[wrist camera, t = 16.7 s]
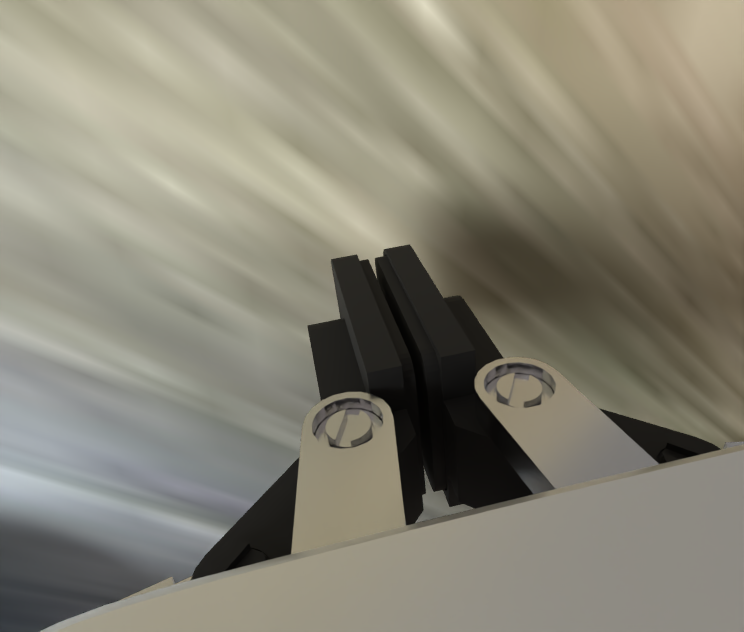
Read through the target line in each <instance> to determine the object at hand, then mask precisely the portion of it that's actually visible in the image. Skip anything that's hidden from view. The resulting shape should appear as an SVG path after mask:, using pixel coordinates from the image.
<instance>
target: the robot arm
mask: <svg viewBox="0 0 744 632" xmlns="http://www.w3.org/2000/svg"><path fill="white" fill-rule="evenodd" d="M331 264H332V271H333V276H334V282H335V288H336V294H337V300H338V306H339V312H340V318H341V319H338V320H333V321H328V322H323V323H318V324H313V325H308V331H309V337H310V342H311V348H312V353H313V359H314V364H315V370H316V375H317V381H318V386H319V392H320V397H321V401H320V402H319V403H318V404H316V405H315V406H314V407H313V408H312V409H311V410H310V411H309V413H308V414H307V415H306V417H305V419H304V422H303V426H302V434H301V445H300V457H299V458H298V459H297V460H296V461H295V462H294V463H293V464H292V465H291V466H290V467H289V468H288V470H287V471H286V472H285V473H284V474H283V475H282V476H281V477H280V478H279V479H278V480H277V481H276V482H275V483H274V484H273V485H272V486H271V487H270V488H269V489H268V490H267V491H266V492H265V494H264V495H263V496H262V497H261V498H260V499H259V500H258V501H257V502H256V503H255V504H254V505H253V506H252V507H251V508H250V509H249V510H248V511H247V512H246V513H245V514H244V515H243V517H242V518H241V519H240V520H239V521H238V522H237V523H236V524H235V525H234V526H233V527H232V528H231V529H230V530H229V531H228V532H227V533H226V534H225V535H224V536H223V537H222V538H221V539H220V541H219V542H218V543H217V544H216V545H215V546H214V547H213V548H212V549H211V550H210V551H209V552H208V553H207V554H206V555H205V557H204V558H203V559H202V561H201V562H200V563H199V565H198V566H197V567H196V569H195V571H194V573H193V576H191V577H189V578H187V579H184V580H182V581H180V582H178V583H175V581H174V579H173V577H170V578H168V579H165V580H163V581H161V582H159V583H157V584H154V585H152V586H150V587H148V588H146V589H143V590H141V591H139V592H137V593H134V594H132V595H130V596H128V597H126V598H123V599H121V600H119V601H117V602H114V603H110V604H107V605H104V606H101V607H98V608H96V609H93V610H90V611H88V612H85V613H82V614H80V615H77V616H74V617H72V618H69V619H66V620H63V621H61V622H58V623H56V624H54V625H52V626H50V627H48V628H46V629H43V630H41V631H39V632H744V442H725V445H724V448H723V449H722V450H721V449H720V448H718V447H717V446H715V445H713V444H712V443H709V442H707V441H704V440H702V439H699V438H697V437H694V436H690V435H687V434H683V433H680V432H677V431H673V430H670V429H667V428H663V427H660V426H656V425H653V424H650V423H646V422H643V421H640V420H636V419H633V418H630V417H626V416H623V415H619V414H616V413H613V412H609V411H606V410H603V409H599V408H598V407H596V406H595V405H594V404H593V403H592V402H591V401H590V400H589V399H588V398H587V397H586V396H584V395H583V394H582V393H581V392H580V391H579V390H578V389H577V388H576V387H575V386H574V385H572V384H571V383H570V382H569V381H568V380H567V379H566V378H565V377H564V376H563V375H562V374H560V373H559V372H558V371H557V370H556V369H554V368H553V367H551V366H550V365H548V364H546V363H544V362H541V361H538V360H536V359H530V358H525V357H508V358H503V357H502V355H501V354H500V352H499V351H498V349H497V348H496V346H495V345H494V344H493V342H492V341H491V339H490V338H489V336H488V335H487V333H486V332H485V330H484V329H483V327H482V326H481V324H480V323H479V321H478V320H477V318H476V317H475V316H474V314H473V313H472V311H471V310H470V308H469V307H468V305H467V304H466V302H465V301H464V299H463V298H462V297H461V296H453V297H448V298H443V297H442V295H441V294H440V292H439V291H438V289H437V287H436V286H435V284H434V283H433V281H432V279H431V278H430V276H429V274H428V273H427V271H426V270H425V268H424V266H423V265H422V263H421V261H420V260H419V258H418V257H417V255H416V253H415V252H414V250H413V249H412V247H411V246H410V245H405V246H399V247H394V248H389V249H384V251H383V257H378V258H375V265H376V274H377V278H376V276H375V274H374V272H373V269H372V267H371V265H370V263H369V260H368V259H367V260H362V261H359V259H358V256H357V255H352V256H347V257H341V258H336V259H331ZM423 465H424V467H423ZM424 468H425V471H426V474H427V476H428V479H429V482H430V485H431V487H432V489H433V491H434V492H435V491H440V490H443V491H444V494H445V496H446V499H447V501H448V504H449V507H452V506H456V505H460V504H466V505H468V506H470V507H473V508H475V509H472V510H468V511H464V512H460V513H456V514H451V515H447V516H443V517H439V518H435V519H431V520H427V521H423V522H419V523H415V522H416V520H417V519H418V517H419V516H420V514H421V513H422V511H423V500H422V495H423V494H425V493H426V489H425V478H424ZM414 523H415V524H414Z"/></svg>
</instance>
